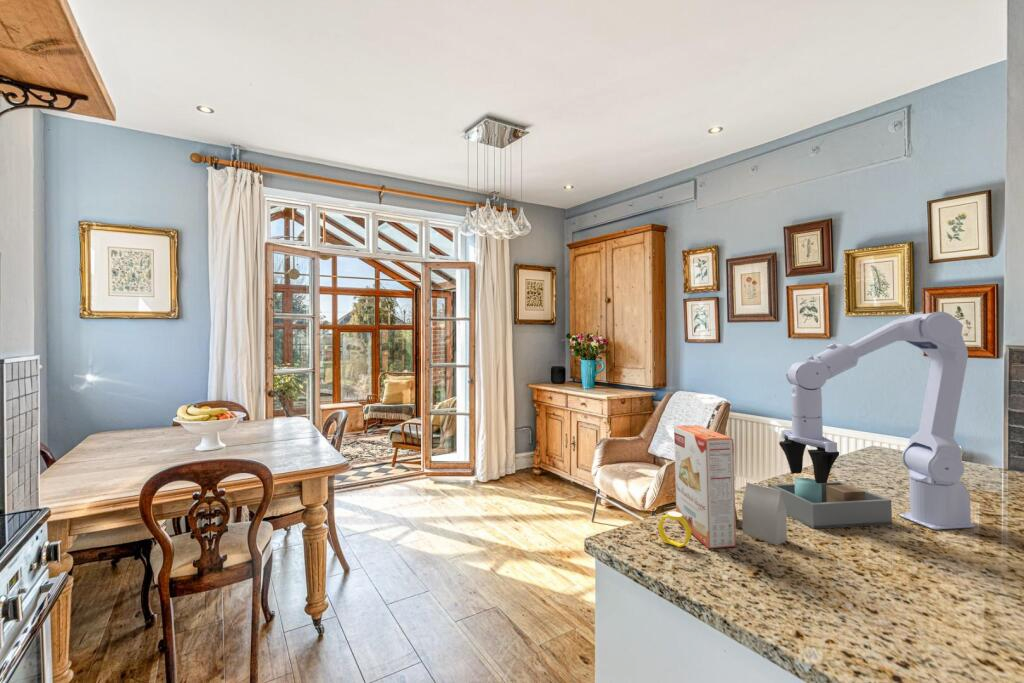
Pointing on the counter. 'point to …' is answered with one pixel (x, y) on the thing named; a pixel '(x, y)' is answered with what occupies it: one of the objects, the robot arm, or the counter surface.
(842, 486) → the walnut cube
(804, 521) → the tote
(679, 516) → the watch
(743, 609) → the counter surface
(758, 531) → the tea bag
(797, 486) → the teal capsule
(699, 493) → the cracker box
